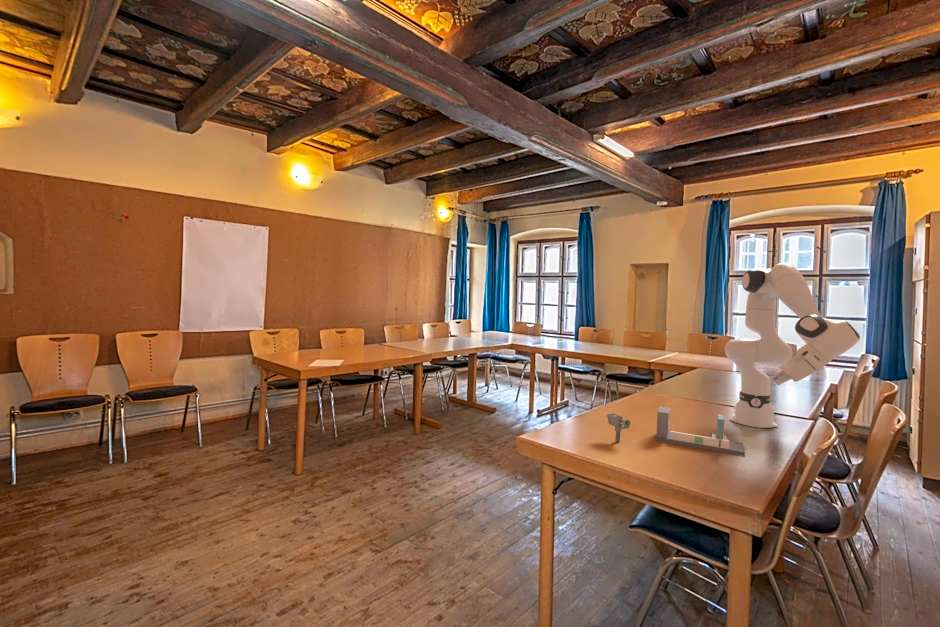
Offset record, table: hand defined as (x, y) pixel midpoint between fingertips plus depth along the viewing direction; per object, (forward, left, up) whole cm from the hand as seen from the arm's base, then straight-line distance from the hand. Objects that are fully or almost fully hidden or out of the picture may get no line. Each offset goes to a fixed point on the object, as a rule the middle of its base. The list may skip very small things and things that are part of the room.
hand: (774, 382), depth 159 cm
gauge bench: (0, -23, -27) cm, 36 cm away
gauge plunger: (+1, -16, -26) cm, 30 cm away
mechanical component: (+16, -51, -28) cm, 60 cm away
